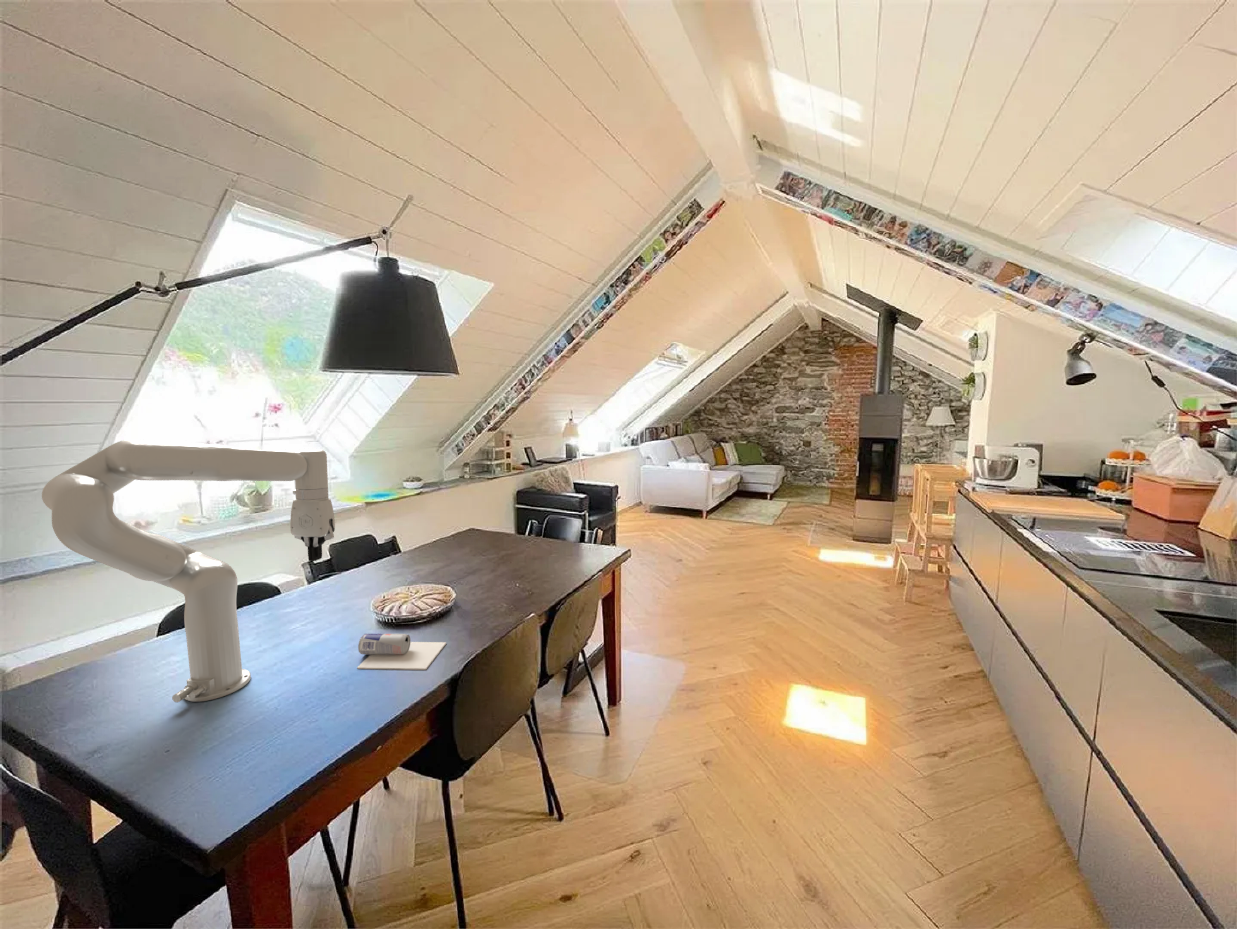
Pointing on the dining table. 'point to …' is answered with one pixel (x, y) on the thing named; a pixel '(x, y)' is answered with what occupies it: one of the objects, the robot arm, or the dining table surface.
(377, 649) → the energy drink
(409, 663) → the mat
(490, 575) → the dining table surface
